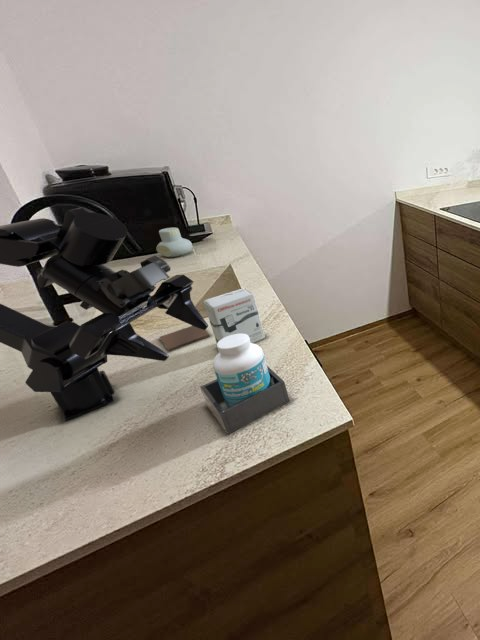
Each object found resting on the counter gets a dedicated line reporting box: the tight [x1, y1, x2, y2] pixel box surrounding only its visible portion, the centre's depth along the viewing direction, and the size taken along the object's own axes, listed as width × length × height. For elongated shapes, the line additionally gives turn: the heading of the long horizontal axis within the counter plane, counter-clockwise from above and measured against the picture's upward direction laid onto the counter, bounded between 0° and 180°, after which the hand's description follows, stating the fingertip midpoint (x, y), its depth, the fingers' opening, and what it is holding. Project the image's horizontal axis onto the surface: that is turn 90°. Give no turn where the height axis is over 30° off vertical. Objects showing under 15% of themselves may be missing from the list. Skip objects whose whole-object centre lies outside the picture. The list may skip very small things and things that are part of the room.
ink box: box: [203, 288, 266, 344], centre depth 84 cm, size 9×5×12 cm, turn 143°
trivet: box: [159, 325, 211, 352], centre depth 89 cm, size 8×8×1 cm
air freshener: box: [155, 227, 193, 258], centre depth 141 cm, size 11×8×10 cm
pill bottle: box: [212, 334, 272, 408], centre depth 65 cm, size 8×7×14 cm
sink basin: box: [199, 365, 290, 435], centre depth 67 cm, size 10×10×4 cm
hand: (188, 342), depth 63 cm, fingers open, 9 cm apart
